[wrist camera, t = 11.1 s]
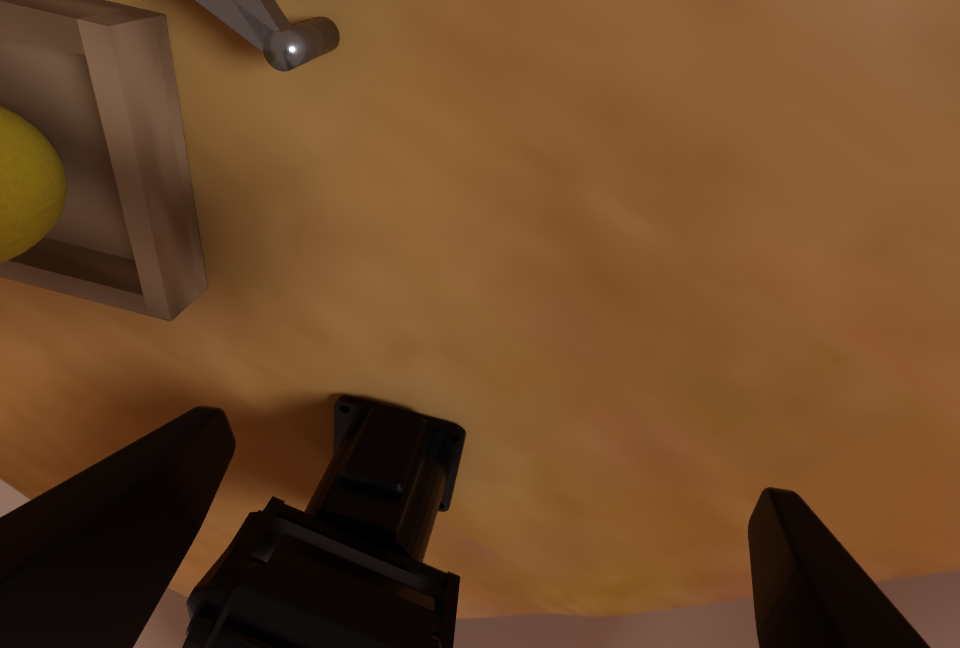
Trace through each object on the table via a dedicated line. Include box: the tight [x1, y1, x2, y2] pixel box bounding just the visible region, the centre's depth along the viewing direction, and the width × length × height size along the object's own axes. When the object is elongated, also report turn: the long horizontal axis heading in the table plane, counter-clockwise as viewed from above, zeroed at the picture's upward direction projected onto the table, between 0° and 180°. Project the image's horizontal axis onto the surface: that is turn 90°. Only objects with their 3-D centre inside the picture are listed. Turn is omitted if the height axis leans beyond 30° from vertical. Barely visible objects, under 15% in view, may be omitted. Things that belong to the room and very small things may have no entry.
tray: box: [0, 0, 207, 321], centre depth 21 cm, size 11×11×3 cm
